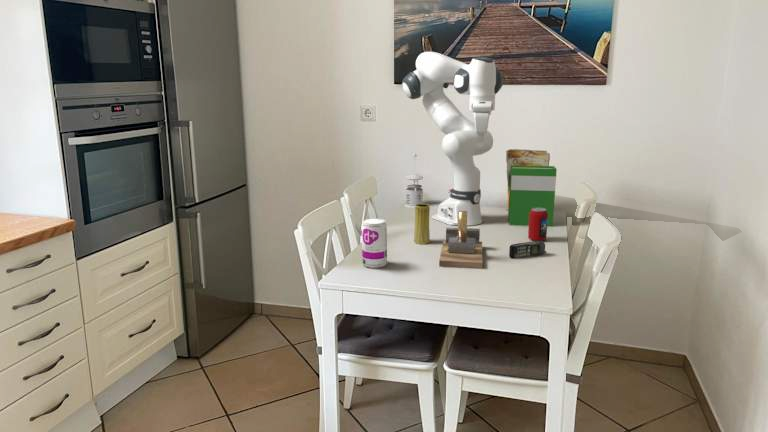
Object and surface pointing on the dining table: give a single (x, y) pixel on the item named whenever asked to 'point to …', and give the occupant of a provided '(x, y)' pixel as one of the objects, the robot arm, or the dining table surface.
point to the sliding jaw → (461, 237)
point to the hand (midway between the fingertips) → (480, 144)
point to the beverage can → (538, 224)
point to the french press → (413, 195)
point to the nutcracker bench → (461, 258)
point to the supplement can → (374, 243)
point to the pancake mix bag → (525, 161)
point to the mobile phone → (527, 249)
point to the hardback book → (531, 192)
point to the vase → (422, 224)
